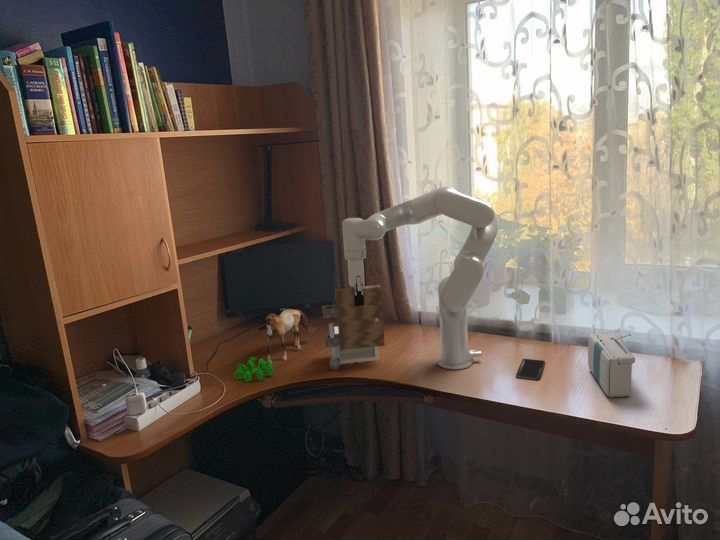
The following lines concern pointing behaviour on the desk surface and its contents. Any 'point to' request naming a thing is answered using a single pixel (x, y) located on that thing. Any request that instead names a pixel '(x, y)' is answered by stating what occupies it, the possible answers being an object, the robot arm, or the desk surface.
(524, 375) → the phone
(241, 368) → the green lumpy cluster
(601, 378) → the stereo radio cassette player
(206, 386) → the desk surface
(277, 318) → the horse figurine
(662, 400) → the desk surface
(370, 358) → the cabinet
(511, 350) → the desk surface
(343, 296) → the walnut door
